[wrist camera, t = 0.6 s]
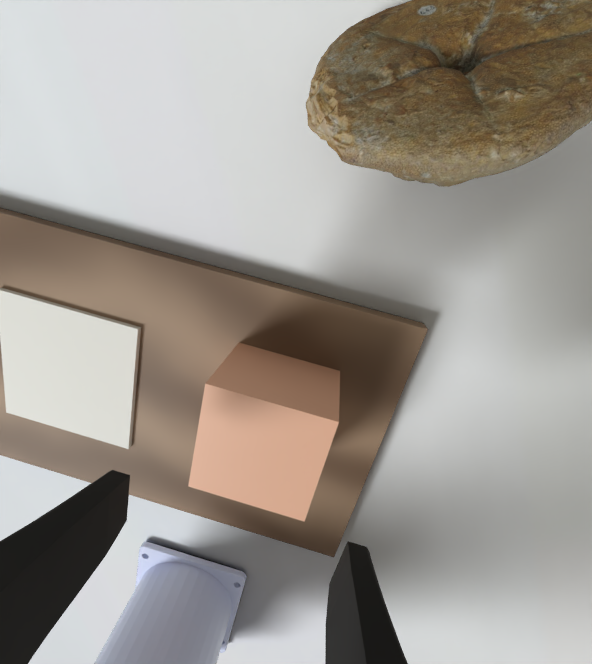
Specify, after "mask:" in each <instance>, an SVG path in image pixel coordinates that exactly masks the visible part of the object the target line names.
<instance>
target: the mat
mask: <svg viewBox="0 0 592 664" xmlns="http://www.w3.org/2000/svg"><path fill="white" fill-rule="evenodd" d="M140 335H141V327H138V326H135V325H131V324H127V323H124V322H120V321H117V320H113V319H110V318H106V317H103V316H99V315H96V314H92V313H89V312H85V311H82V310H78V309H75V308H71V307H68V306H64V305H61V304H57V303H53V302H50V301H46V300H43V299H39V298H36V297H32V296H29V295H25V294H22V293H18V292H15V291H11V290H8V289H4V288H0V342H1V354H2V366H3V379H4V391H5V403H6V413H10V414H13V415H16V416H20V417H23V418H26V419H30V420H33V421H36V422H40V423H43V424H46V425H50V426H53V427H56V428H60V429H63V430H66V431H70V432H73V433H76V434H80V435H83V436H86V437H90V438H93V439H96V440H100V441H103V442H106V443H110V444H113V445H116V446H120V447H123V448H126V449H129V448H130V447H131V445H132V433H133V420H134V408H135V396H136V384H137V372H138V359H139V347H140Z"/></svg>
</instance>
